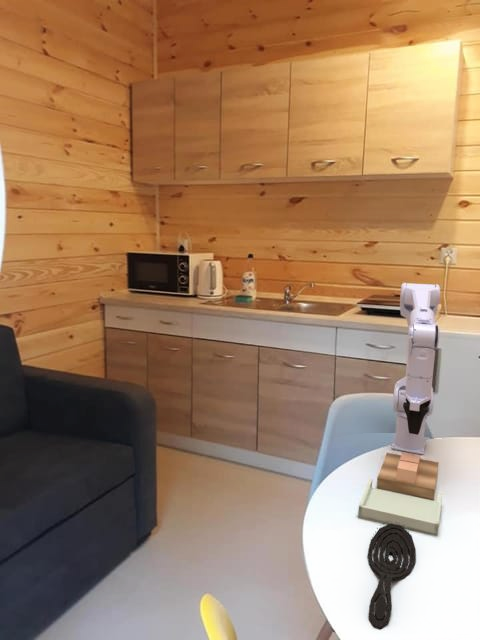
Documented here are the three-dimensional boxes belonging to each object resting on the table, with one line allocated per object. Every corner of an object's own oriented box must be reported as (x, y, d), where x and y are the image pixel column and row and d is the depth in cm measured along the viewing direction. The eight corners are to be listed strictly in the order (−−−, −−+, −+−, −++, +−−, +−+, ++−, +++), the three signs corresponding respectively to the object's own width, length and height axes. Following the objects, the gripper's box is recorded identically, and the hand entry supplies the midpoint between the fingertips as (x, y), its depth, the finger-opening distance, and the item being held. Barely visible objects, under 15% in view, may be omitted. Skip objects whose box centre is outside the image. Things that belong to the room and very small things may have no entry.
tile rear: (401, 464, 127) (402, 452, 126) (418, 467, 125) (420, 455, 124) (398, 471, 123) (399, 459, 122) (417, 475, 121) (418, 463, 121)
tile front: (398, 472, 123) (399, 460, 122) (417, 476, 121) (418, 463, 120) (396, 480, 119) (397, 467, 118) (415, 484, 117) (416, 471, 117)
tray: (369, 488, 121) (369, 478, 120) (441, 504, 115) (442, 493, 115) (357, 517, 110) (358, 506, 109) (437, 536, 104) (438, 524, 103)
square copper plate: (385, 463, 133) (386, 452, 133) (437, 474, 129) (438, 462, 128) (376, 490, 121) (377, 477, 120) (433, 502, 116) (434, 489, 115)
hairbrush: (349, 607, 81) (374, 515, 104) (348, 627, 82) (373, 531, 105) (407, 623, 78) (419, 525, 101) (405, 644, 79) (418, 542, 102)
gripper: (405, 365, 133) (400, 418, 136) (397, 380, 120) (392, 438, 122) (435, 369, 130) (430, 422, 133) (431, 385, 117) (425, 444, 120)
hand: (414, 430), depth 127 cm, fingers open, 3 cm apart
